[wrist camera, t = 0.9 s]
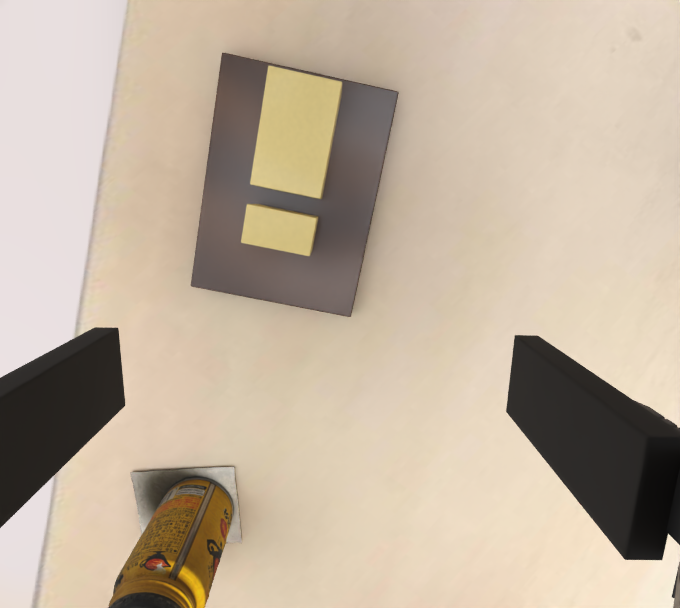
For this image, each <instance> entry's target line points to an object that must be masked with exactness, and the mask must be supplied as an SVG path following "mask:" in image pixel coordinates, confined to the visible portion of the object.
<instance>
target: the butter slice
mask: <svg viewBox="0 0 680 608" xmlns="http://www.w3.org/2000/svg"><path fill="white" fill-rule="evenodd" d="M317 222H318V216H314V215H309V214H304V213H299V212H294V211H289V210H284V209H279V208H275V207H270V206H265V205H260V204H247V206H246V213H245V219H244V226H243V232H242V239H241V243H245V244H250V245H255V246H260V247H265V248H270V249H275V250H280V251H285V252H290V253H295V254H300V255H305V256H310V254H311V252H312V249H313V243H314V238H315V233H316V227H317Z"/></svg>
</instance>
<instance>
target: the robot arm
mask: <svg viewBox="0 0 680 608" xmlns="http://www.w3.org/2000/svg"><path fill="white" fill-rule="evenodd" d="M124 406H125V397H124V386H123V375H122V364H121V353H120V342H119V331H118V328H93V329H91V330H89V331H87V332H85V333H84V334H82V335H80V336H78V337H76V338H74V339H72V340H70V341H69V342H67V343H65V344H63V345H61V346H59V347H57V348H56V349H54V350H52V351H50V352H48V353H46V354H44V355H42V356H40V357H39V358H37V359H35V360H33V361H31V362H29V363H27V364H25V365H24V366H22V367H20V368H18V369H16V370H14V371H12V372H10V373H8V374H7V375H5V376H3V377H1V378H0V528H1V527H2V526H3V525H4V524H5V523H6V522H7V521H8V520H9V519H10V518H11V517H12V516H13V515H14V514H15V513H16V512H17V511H18V510H19V509H20V508H21V507H22V506H23V505H24V504H25V503H26V502H27V501H28V500H29V499H30V498H31V497H32V496H33V495H34V494H35V493H36V492H37V491H38V490H39V489H40V488H41V487H42V486H43V485H45V483H47V482H48V481H49V480H50V479H51V478H52V477H53V476H54V475H55V474H56V473H57V472H58V471H59V470H60V469H61V468H62V467H63V466H64V465H65V464H66V463H67V462H68V461H69V460H70V459H71V458H72V457H73V456H74V455H75V454H76V453H77V452H78V451H79V450H80V449H81V448H82V447H83V446H84V445H85V444H86V443H87V442H88V441H89V440H90V439H91V438H92V437H94V436H95V435H96V434H97V433H98V432H99V431H100V430H101V429H102V428H103V427H104V426H105V425H106V424H107V423H108V422H109V421H110V420H111V419H112V418H113V417H114V416H115V415H116V414H117V413H118V412H119V411H120V410H121V409H122V408H123V407H124ZM506 412H507V413H508V414H509V416H510V417H511V418H512V419H513V421H514V422H515V423H516V424H517V426H518V427H519V428H520V429H521V431H522V432H523V433H524V434H525V436H526V437H527V438H528V439H529V441H530V442H531V443H532V444H533V446H534V447H535V448H536V449H537V451H538V452H539V453H540V454H541V455H542V457H543V458H544V459H545V460H546V462H547V463H548V464H549V465H550V467H551V468H552V469H553V470H554V472H555V473H556V474H557V475H558V477H559V478H560V479H561V480H562V482H563V483H564V484H565V485H566V487H567V488H568V489H569V490H570V492H571V493H572V494H573V495H574V497H575V498H576V499H577V500H578V502H579V503H580V504H581V505H582V507H583V508H584V509H585V510H586V512H587V513H588V514H589V515H590V517H591V518H592V519H593V520H594V522H595V523H596V524H597V525H598V527H599V528H600V529H601V530H602V532H603V533H604V534H605V535H606V537H607V538H608V539H609V540H610V541H611V543H612V544H613V545H614V546H615V548H616V549H617V550H618V551H619V553H620V554H621V555H622V556H623V558H624V559H625V560H662V558H663V554H664V549H665V544H666V540H667V535H668V534H669V535H670V536H671V537H672V538H673V539H674V540H675V541H676V542H677V543H678V544H679V545H680V428H677V425H675V424H674V423H672V422H671V421H669V420H668V419H665V417H663V416H662V415H660V414H659V413H657V412H656V411H654V410H653V409H651V408H650V407H648V406H645V405H643V404H641V403H638V402H636V401H634V400H632V399H630V398H629V397H628V396H626V395H625V394H623V393H622V392H620V391H619V390H617V389H616V388H614V387H613V386H611V385H610V384H608V383H607V382H605V381H604V380H602V379H601V378H599V377H598V376H596V375H595V374H594V373H592V372H591V371H589V370H588V369H586V368H585V367H583V366H582V365H580V364H579V363H577V362H576V361H574V360H573V359H571V358H570V357H568V356H567V355H565V354H564V353H563V352H561V351H560V350H558V349H557V348H555V347H554V346H552V345H551V344H549V343H548V342H546V341H545V340H543V339H542V338H540V337H539V336H523V335H515V339H514V348H513V357H512V366H511V374H510V383H509V392H508V401H507V410H506ZM672 597H673V598H675V599H674V607H673V608H680V563H679V567H678V572H677V576H676V581H675V585H674V589H673V594H672Z"/></svg>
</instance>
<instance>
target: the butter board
mask: <svg viewBox="0 0 680 608" xmlns="http://www.w3.org/2000/svg"><path fill="white" fill-rule="evenodd" d="M268 66H274V67H278V68H283V69H287V70H292V71H296V72H301V73H305V74H310V75H314V76H319V77H323V78H328V79H332V80H337V81H341V82H342V94H341V100H340V106H339V111H338V116H337V121H336V127H335V132H334V137H333V143H332V148H331V153H330V159H329V164H328V169H327V174H326V180H325V185H324V190H323V196H322V199H317V198H312V197H307V196H302V195H297V194H293V193H288V192H283V191H278V190H273V189H269V188H264V187H259V186H255V185H251V184H250V181H251V174H252V168H253V161H254V155H255V149H256V142H257V136H258V129H259V123H260V116H261V110H262V103H263V97H264V91H265V84H266V78H267V71H268ZM397 98H398V92H397V91H393V90H388V89H384V88H379V87H375V86H370V85H366V84H361V83H357V82H352V81H348V80H344V79H339V78H335V77H330V76H326V75H321V74H317V73H312V72H308V71H303V70H299V69H294V68H290V67H285V66H281V65H276V64H272V63H267V62H263V61H258V60H254V59H249V58H245V57H240V56H236V55H232V54H227V53H222V58H221V65H220V72H219V80H218V87H217V95H216V102H215V110H214V117H213V125H212V132H211V139H210V147H209V154H208V162H207V169H206V177H205V184H204V192H203V199H202V206H201V214H200V221H199V229H198V236H197V244H196V251H195V258H194V266H193V273H192V281H191V286H192V287H197V288H203V289H208V290H213V291H218V292H223V293H228V294H234V295H239V296H244V297H249V298H254V299H260V300H265V301H270V302H275V303H280V304H285V305H291V306H296V307H301V308H306V309H311V310H317V311H322V312H327V313H332V314H337V315H342V316H348V317H351V313H352V309H353V304H354V299H355V295H356V290H357V285H358V280H359V276H360V271H361V266H362V262H363V257H364V252H365V248H366V243H367V238H368V234H369V229H370V224H371V220H372V215H373V210H374V206H375V201H376V196H377V192H378V187H379V182H380V177H381V173H382V168H383V163H384V159H385V154H386V149H387V145H388V140H389V135H390V131H391V126H392V121H393V117H394V112H395V107H396V103H397ZM247 204H260V205H265V206H270V207H275V208H279V209H284V210H289V211H294V212H299V213H304V214H309V215H314V216H318V222H317V227H316V233H315V238H314V243H313V249H312V252H311V254H310V256H305V255H300V254H295V253H290V252H285V251H280V250H275V249H270V248H265V247H260V246H255V245H250V244H245V243H241V239H242V232H243V226H244V219H245V213H246V206H247Z"/></svg>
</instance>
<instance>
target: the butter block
mask: <svg viewBox="0 0 680 608" xmlns="http://www.w3.org/2000/svg"><path fill="white" fill-rule="evenodd" d="M341 94H342V82H341V81H337V80H332V79H328V78H323V77H319V76H314V75H310V74H305V73H301V72H296V71H292V70H287V69H283V68H278V67H274V66H268V71H267V78H266V84H265V91H264V97H263V103H262V110H261V116H260V123H259V129H258V136H257V142H256V149H255V155H254V161H253V168H252V174H251V181H250V184H251V185H255V186H259V187H264V188H269V189H273V190H278V191H283V192H288V193H293V194H297V195H302V196H307V197H312V198H317V199H322V196H323V190H324V185H325V180H326V174H327V169H328V164H329V159H330V153H331V148H332V143H333V137H334V132H335V127H336V121H337V116H338V111H339V106H340V100H341Z"/></svg>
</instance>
